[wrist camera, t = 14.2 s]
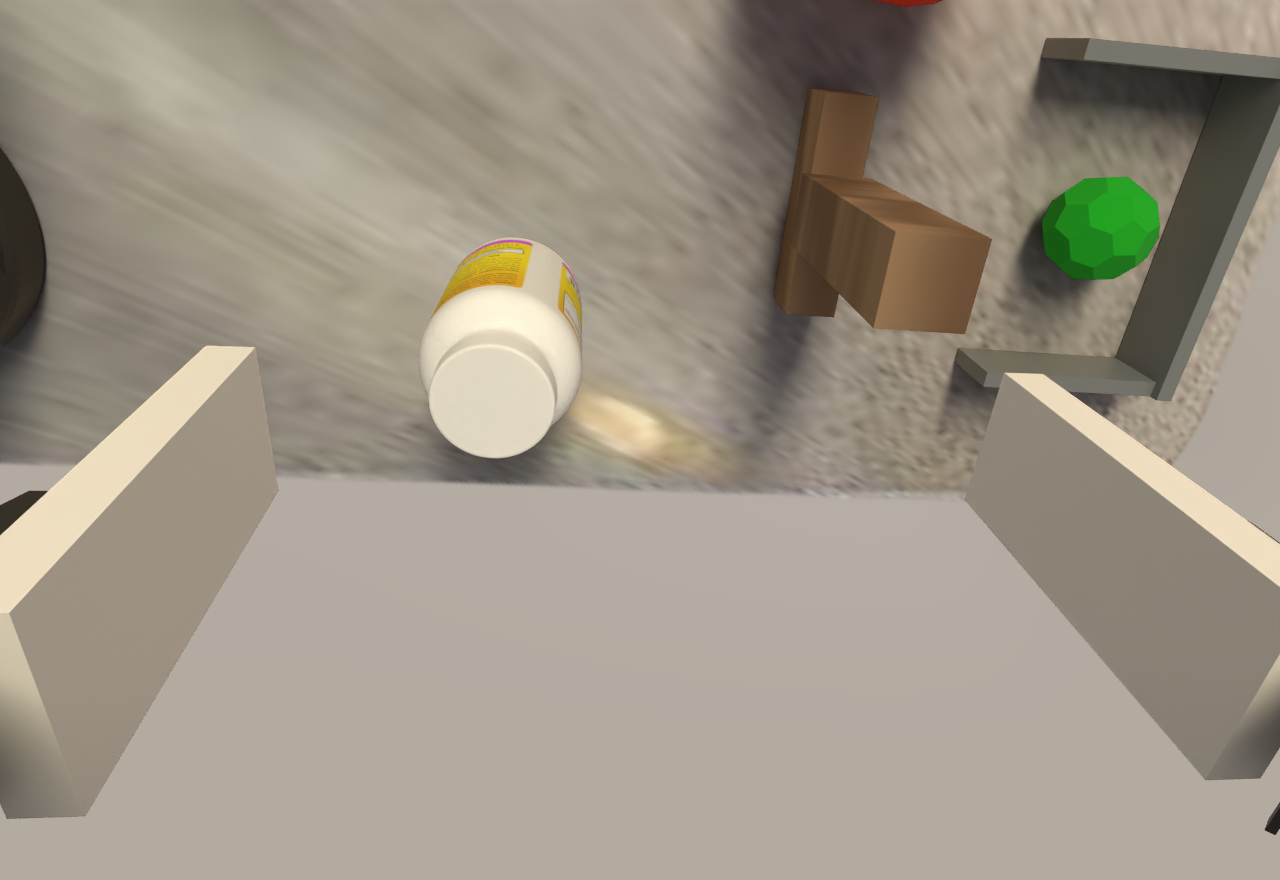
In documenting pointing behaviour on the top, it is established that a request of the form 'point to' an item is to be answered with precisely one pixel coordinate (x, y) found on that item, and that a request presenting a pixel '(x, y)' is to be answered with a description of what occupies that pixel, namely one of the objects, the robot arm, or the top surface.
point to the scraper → (869, 233)
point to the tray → (1172, 226)
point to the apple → (909, 2)
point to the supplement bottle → (503, 348)
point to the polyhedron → (1100, 228)
